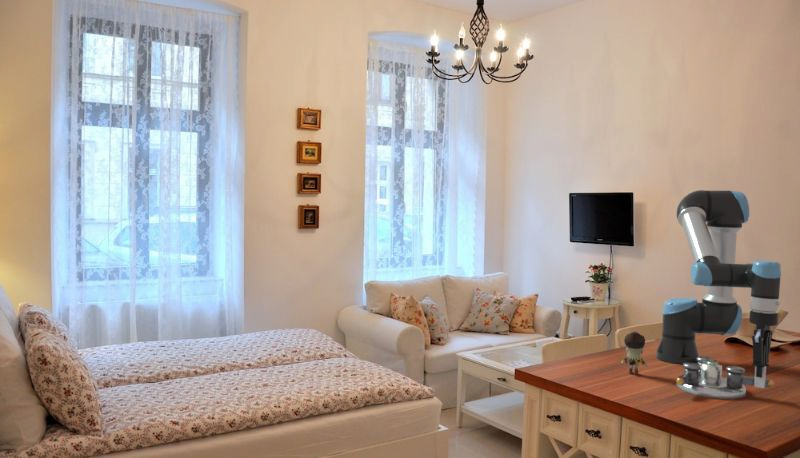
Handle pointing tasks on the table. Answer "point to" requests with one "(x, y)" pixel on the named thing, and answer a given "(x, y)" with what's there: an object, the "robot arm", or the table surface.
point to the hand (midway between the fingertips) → (759, 387)
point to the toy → (634, 350)
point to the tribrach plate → (714, 390)
